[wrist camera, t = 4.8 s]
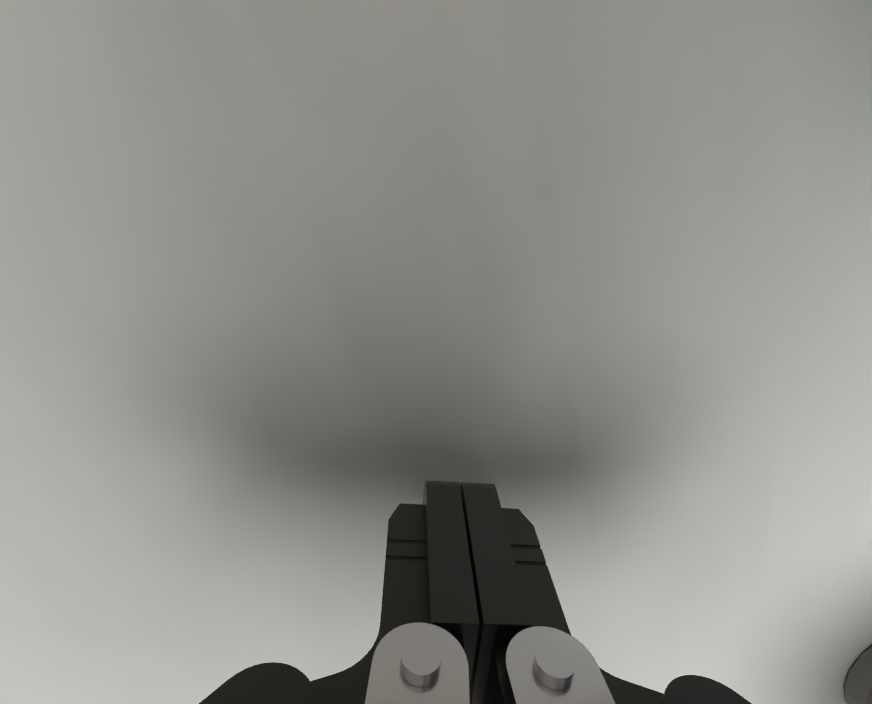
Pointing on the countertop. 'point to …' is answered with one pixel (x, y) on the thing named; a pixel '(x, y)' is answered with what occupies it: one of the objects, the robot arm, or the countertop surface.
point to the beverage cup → (860, 680)
